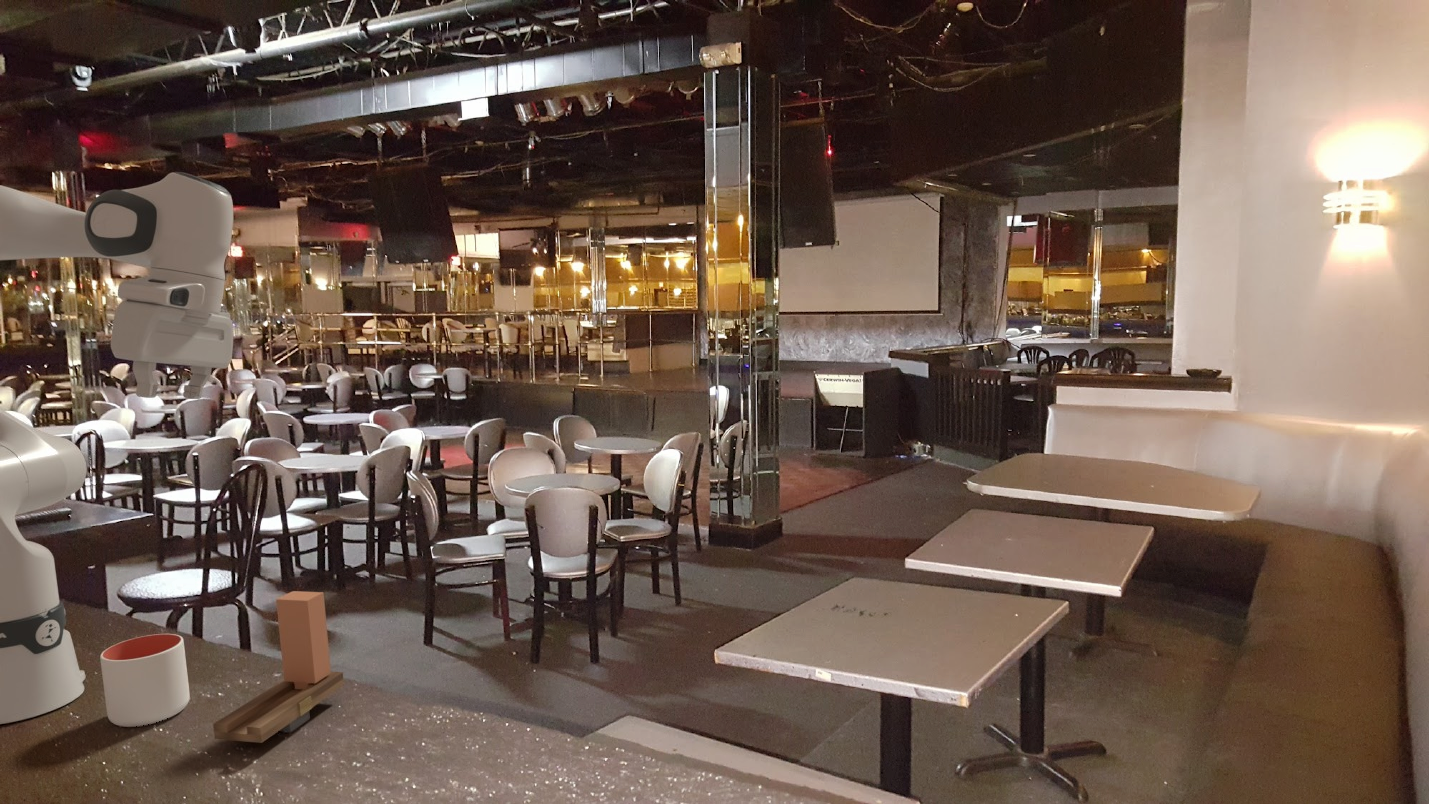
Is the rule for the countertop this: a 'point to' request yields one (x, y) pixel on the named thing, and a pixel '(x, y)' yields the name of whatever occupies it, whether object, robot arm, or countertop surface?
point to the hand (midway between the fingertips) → (169, 398)
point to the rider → (303, 637)
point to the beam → (276, 710)
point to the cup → (145, 679)
